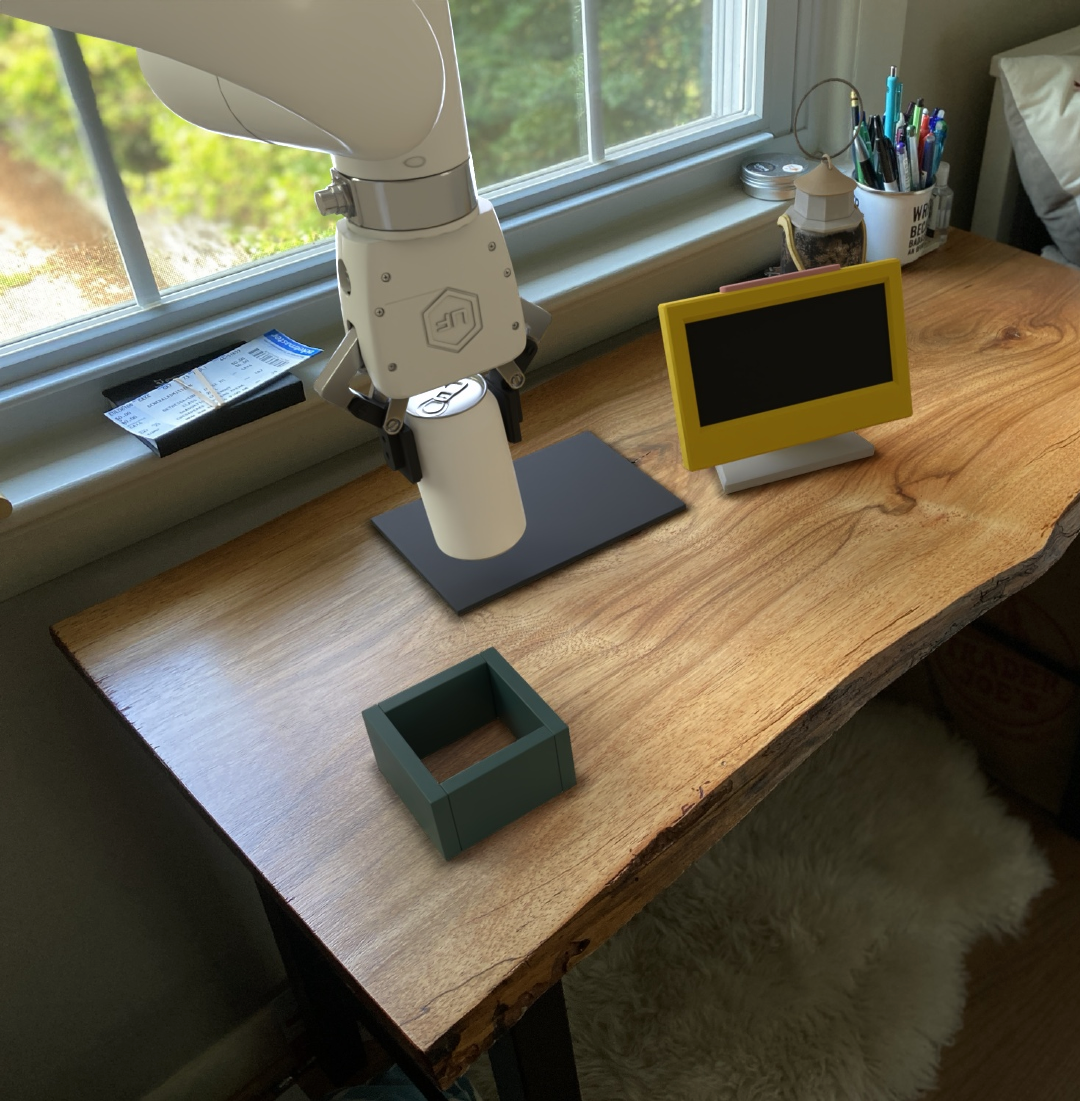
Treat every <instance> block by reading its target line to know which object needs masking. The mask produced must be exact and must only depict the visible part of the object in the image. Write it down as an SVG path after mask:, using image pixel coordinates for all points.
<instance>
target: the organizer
mask: <svg viewBox="0 0 1080 1101" xmlns="http://www.w3.org/2000/svg"><path fill="white" fill-rule="evenodd" d="M361 716H362V719H363V723H364V726H365V729H366V733H367V736H368V739H369V742H370V746H371V749H372V752H373V755H374V758H375V762H376V766H377V768H378V770H379V771H380V773H381V775H383V777H384V778H385V780H386V781H387V782H388V784H389V785H390V787H391V788H392V789H393V791H394V792H395V793H396V795H397V796H398V797H399V799H400V800H401V802H402V803H403V805H404V806H405V808H407V810H408V811H409V813H410V814H411V816H412V817H413V819H414V820H415V821H416V823H417V824H418V825H419V827H420V828H421V829H422V830H423V832H424V833H425V835H426V837H427V838H428V839H429V840H430V842H431V843H432V844H433V846H434V847H435V848H436V850H437V851H438V852H439V854H440V855H441V857H442V858H443V859H444V861H445V862H448V861H450V860H451V859H453V858H455V857H456V856H458V855H460V854H462V852H465V851H467V850H468V849H470V848H472V847H473V846H475V845H477V844H478V843H480V842H482V841H484V840H485V839H487V838H488V837H490V836H492V835H493V834H495V833H497V832H498V831H500V830H502V829H503V828H505V827H507V826H509V825H511V824H512V823H514V822H515V821H517V820H519V819H521V818H522V817H524V816H526V815H528V814H529V813H531V812H532V811H534V810H536V809H537V808H539V807H540V806H542V805H544V804H545V803H548V802H549V801H551V800H553V799H554V798H556V797H557V796H559V795H561V794H562V793H565V792H566V791H568V790H570V789H571V788H573V787H575V786H577V784H578V782H577V776H576V775H577V774H576V769H575V768H576V767H575V760H574V753H573V745H572V739H571V733H570V726H569V725H568V724H567V722H565V721H564V720H563V719H562V718H561V716H559V714H558V713H557V712H556V711H555V710H554V709H553V708H552V707H551V706H550V705H549V704H548V703H547V702H546V700H544V699H543V697H542V696H541V695H540V694H539V693H538V692H537V691H536V690H535V689H534V687H532V686H531V685H530V683H528V682H527V680H526V679H525V678H524V677H523V676H522V675H521V674H520V673H519V672H518V671H517V670H516V669H515V668H514V666H512V665H511V663H510V662H508V660H507V659H506V658H505V657H504V656H503V655H502V654H501V652H499V651H498V649H496V647H495V646H493V645H492V646H490V647H487V648H486V649H484V650H482V651H480V652H479V653H476V654H475V655H472V656H470V657H468V658H466V659H464V660H462V661H460V662H458V663H456V664H454V665H452V666H450V667H448V668H446V669H444V670H442V671H439V672H437V673H436V674H434V675H432V676H430V677H428V678H426V679H424V680H421V681H419V682H417V683H416V684H413V685H411V686H409V687H408V688H405V689H403V690H401V691H400V692H397V693H395V694H393V695H391V696H389V697H387V698H385V699H383V700H382V701H379V702H377V703H376V704H373V705H371V706H369V707H367V708H365V709H363V710H361ZM496 720H498V721H499V722H500V723H501V724H502V725H503V726H504V727H505V728H506V729H507V731H508V732H509V733H510V734H511V735H512V736H513V738H515V739H516V741H514V742H512V743H510V744H508V745H506V746H505V747H503V748H501V749H500V750H498V751H496V752H494V753H492V754H490V755H488V756H487V757H485V758H483V759H481V760H480V761H478V762H476V763H474V764H471V765H470V766H469V767H466V768H465V769H463V770H461V771H459V772H457V773H455V774H454V775H452V776H451V777H448V778H447V779H445V780H443V781H440V783H439V782H438V780H437V779H436V778H435V776H434V775H432V773H431V772H430V770H429V769H428V768H427V767H426V765H425V764H424V762H423V761H422V759H425V758H426V757H428V756H430V755H432V754H434V753H437V752H438V751H440V750H441V749H444V748H445V747H448V746H449V745H450V744H453V743H455V742H457V741H459V740H460V739H462V738H464V737H466V736H468V735H470V734H471V733H473V732H475V731H477V730H479V729H481V728H482V727H485V726H486V725H488V724H490V723H491V722H493V721H496Z"/></svg>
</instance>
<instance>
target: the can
mask: <svg viewBox="0 0 1080 1101" xmlns="http://www.w3.org/2000/svg"><path fill="white" fill-rule="evenodd" d="M404 423H405V424H406V425H407V426H408V427H410V428H411V429H412V431H413V434H414V438H415V443H416V448H417V452H418V457H419V462H420V466H421V471H422V476H423V478H422V479H421V481H420V482H418V483H416V484H417V486H418V490H419V493H420V496H421V498H422V500H423V503H424V506H425V509H426V513H427V516H428V519H429V522H430V525H431V528H432V531H433V534H434V537H435V540H436V543H437V545H438V547H439V548H440V549H441V550H442V551H443V552H444V553H445V554H447V555H449V556H451V557H453V558H456V559H460V560H467V561H480V560H486V559H490V558H494V557H496V556H499V555H501V554H503V553H505V552H506V551H508V550H509V549H511V548H512V547H513V546H514V545H515V544H516V543H517V542H518V541H519V539H520V538H521V536H522V535H523V533H524V531H525V528H526V518H525V514H524V509H523V505H522V500H521V496H520V492H519V487H518V483H517V479H516V474H515V470H514V466H513V462H512V461H513V458H512V454H511V450H510V446H509V442H508V441H507V437H506V433H505V428H504V424H503V420H502V416H501V412H500V409H499V405H498V402H497V400H496V398H495V396H494V395H493V394H492V393H491V391H490V390H489V389H488V388H487V382H486V380H485V379H484V376H482V375H481V374H477V375H474V376H471V377H468V378H466V379H463V380H460V381H457V382H454V383H452V384H449V385H446V386H443V387H440V388H437V389H434V390H432V391H429V392H426V393H423V394H420V395H417V396H413V397H410V398H409V402H408V406H407V410H406V414H405V418H404Z"/></svg>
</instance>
